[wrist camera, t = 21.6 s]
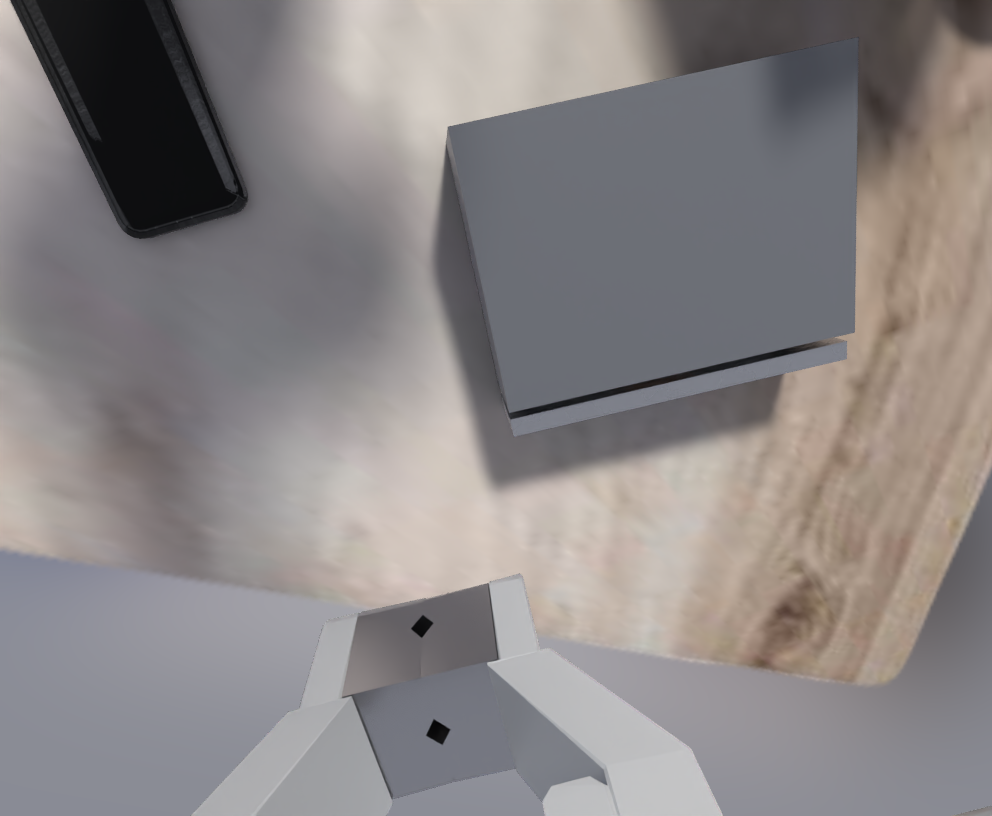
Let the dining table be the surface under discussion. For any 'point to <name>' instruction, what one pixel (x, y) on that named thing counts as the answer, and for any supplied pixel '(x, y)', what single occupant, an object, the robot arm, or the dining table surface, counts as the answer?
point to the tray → (675, 386)
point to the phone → (137, 110)
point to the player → (664, 223)
